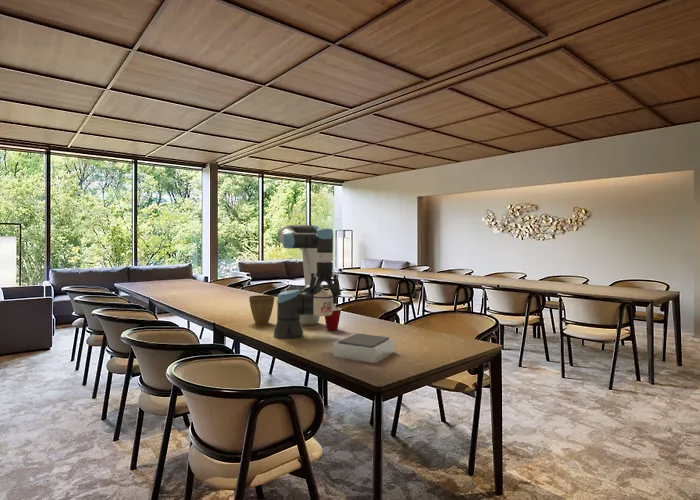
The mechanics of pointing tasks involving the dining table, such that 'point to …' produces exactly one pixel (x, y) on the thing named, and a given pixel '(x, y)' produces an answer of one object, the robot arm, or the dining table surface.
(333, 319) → the plastic cup
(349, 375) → the dining table surface
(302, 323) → the canister
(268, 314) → the plant pot
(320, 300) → the teacup with lid
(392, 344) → the white flat block
